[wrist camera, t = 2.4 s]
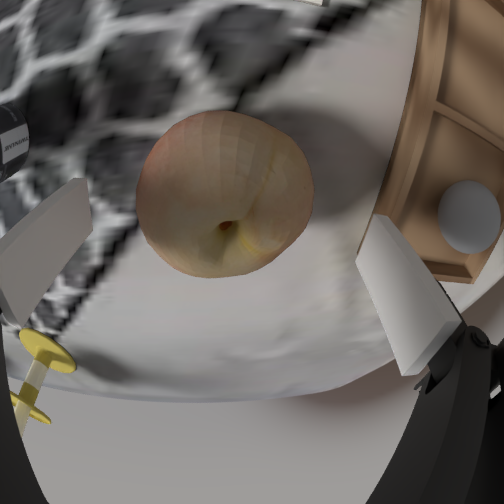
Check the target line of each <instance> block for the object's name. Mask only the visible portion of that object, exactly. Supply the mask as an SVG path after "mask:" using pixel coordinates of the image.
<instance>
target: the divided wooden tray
mask: <svg viewBox="0 0 504 504" xmlns="http://www.w3.org/2000/svg"><path fill="white" fill-rule="evenodd" d="M464 180H471V181H476V182H478V183H481V184H482V185H484V186H485V187H487V188H488V189H489V190H490V191H491V192H492V194H493V195H494V197H495V198H496V200H497V203H498V205H499V209H500V214H501V224H500V229H499V232H498V235H497V237H496V239H495V241H494V242H493V243H492V244H491V245H490V246H489V247H488V248H487V249H486V250H484V251H482V252H479V253H475V254H466V253H462V252H460V251H457V250H456V249H454V248H453V247H452V246H450V245H449V244H448V242H447V241H446V240H445V238H444V237H443V235H442V233H441V230H440V227H439V223H438V207H439V203H440V200H441V198H442V196H443V194H444V193H445V191H446V190H447V189H448V188H449V187H450V186H452V185H453V184H455V183H457V182H459V181H464ZM374 213H375V214H379V215H384V216H388V217H389V219H390V220H391V221H392V222H393V224H394V225H395V226H396V227H397V228H398V230H399V231H400V232H401V233H402V235H403V236H404V237H405V239H406V240H407V241H408V242H409V244H410V245H411V246H412V248H413V249H414V250H415V252H416V253H417V254H418V256H419V257H420V258H421V260H422V261H423V262H424V264H425V265H426V267H427V268H428V269H429V271H430V272H431V274H432V275H433V277H434V278H435V279H436V280H437V281H445V282H456V283H467V284H474V282H475V281H476V279H477V277H478V276H479V274H480V272H481V271H482V269H483V267H484V265H485V264H486V262H487V260H488V258H489V257H490V255H491V253H492V251H493V249H494V247H495V245H496V243H497V241H498V239H499V237H500V235H501V233H502V231H503V229H504V0H422V6H421V16H420V24H419V32H418V39H417V46H416V52H415V58H414V63H413V69H412V74H411V79H410V84H409V88H408V93H407V97H406V102H405V106H404V110H403V114H402V118H401V122H400V126H399V130H398V133H397V137H396V141H395V144H394V148H393V151H392V155H391V158H390V161H389V164H388V168H387V171H386V174H385V177H384V180H383V183H382V186H381V189H380V192H379V195H378V198H377V201H376V204H375V207H374V209H373V212H372V215H371V218H370V220H369V223H368V226H367V228H366V231H365V234H364V236H363V239H362V241H361V244H360V246H359V249H358V251H357V255H358V254H359V251H360V249H361V246H362V244H363V241H364V238H365V236H366V233H367V231H368V228H369V225H370V222H371V220H372V217H373V214H374Z"/></svg>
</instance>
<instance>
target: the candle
mask: <svg viewBox="0 0 504 504" xmlns="http://www.w3.org/2000/svg"><path fill="white" fill-rule="evenodd" d="M19 336H20V339H21V342H22V343H23V345H24V346H25V348H26V349H27V350H28V351H29V352H30V353H31V354H32V355H33V356H34V357H35V358H34V360H33V363H32V365H31V367H30V369H29V371H28V374H27V376H26V378H25V381H24V383H23V385H22V388H21V390H20V393H19V395H17V394H15V393H13V392H11V391H10V395H11V400H12V404H13V406H15V410H14V413H15V417H16V421H17V424H18V428H19V432H20V435H21V438H22V435H23V432H24V429H25V426H26V423H27V420H28V417H29V416H31V417H32V418H34V419H36V420H38V421H40V422H43V423H46V424H51V420H50V418H49V417H48V416H47V415H45V414H44V413H43V412H42V411H40V410H39V409H38V408H36V407H35V406H34V403H35V401H36V398H37V396H38V393H39V390H40V388H41V385H42V383H43V380H44V378H45V376H46V373H47V371H48V368H49V367H50V368H52V369H54V370H57V371H60V372H63V373H72V372H73V371H75V370H76V363H75V362H74V360H73V359H72V357H71V355H70V354H69V353H68V352H67V351H66V350H65V349H64V348H63V347H62V346H60V345H59V344H58V343H56V342H55V341H54V340H52V339H51V338H50V337H48V336H46V335H44V334H42V333H41V332H39V331H36V330H33V329H30V328H23V329H22V330H21V332H20V333H19Z"/></svg>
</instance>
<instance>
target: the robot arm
mask: <svg viewBox="0 0 504 504" xmlns="http://www.w3.org/2000/svg"><path fill="white" fill-rule="evenodd" d="M92 231H93V226H92V220H91V212H90V204H89V196H88V186H87V178H73V179H72V180H70V181H69V182H68V183H66V184H65V185H64V186H62V187H61V188H60V189H58V190H57V191H56V192H54V193H53V194H52V195H50V196H49V197H48V198H47V199H45V200H44V201H43V202H42V203H40V204H39V205H38V206H37V207H36V208H34V209H33V210H32V211H31V212H30V213H28V214H27V215H26V216H25V217H24V218H23V219H22V220H20V221H19V222H18V223H17V224H16V225H15V226H14V227H13V228H12V229H11V230H9V231H8V232H7V233H6V234H5V235H4V236H3V237H2V238H1V239H0V314H1V313H3V315H4V316H5V318H6V320H7V322H8V324H10V325H13V326H15V327H18V328H20V329H22V328H23V327H24V325H25V323H26V322H27V320H28V318H29V317H30V315H31V314H32V312H33V310H34V309H35V307H36V306H37V304H38V303H39V301H40V300H41V298H42V297H43V295H44V294H45V292H46V291H47V290H48V288H49V287H50V285H51V284H52V282H53V281H54V280H55V278H56V277H57V275H58V274H59V273H60V271H61V270H62V269H63V267H64V266H65V265H66V263H67V262H68V261H69V259H70V258H71V257H72V256H73V254H74V253H75V252H76V251H77V249H78V248H79V247H80V246H81V244H82V243H83V242H84V241H85V239H86V238H87V237H88V236H89V235H90V233H91V232H92ZM355 263H356V265H357V268H358V270H359V272H360V274H361V276H362V278H363V281H364V283H365V285H366V287H367V289H368V292H369V294H370V296H371V298H372V301H373V303H374V305H375V308H376V310H377V312H378V315H379V317H380V320H381V322H382V325H383V327H384V330H385V332H386V335H387V337H388V340H389V342H390V345H391V347H392V350H393V353H394V355H395V358H396V361H397V364H398V366H399V369H400V372H401V375H402V376H406V375H415V374H418V373H419V372H420V371H421V370H422V369H423V368H424V366H426V365H427V364H428V366H429V369H430V371H429V372H428V373H427V374H426V376H425V377H424V378H423V379H422V380H421V381H420V382H419V383H418V384H417V385H416V386H415V387H414V390H417V389H418V388H419V387H420V386H422V387H421V390H420V391H419V396H418V399H417V401H416V404H415V407H414V409H413V412H412V415H411V417H410V419H409V422H408V424H407V426H406V429H405V431H404V433H403V436H402V438H401V440H400V442H399V444H398V446H397V448H396V450H395V453H394V455H393V457H392V459H391V460H390V462H389V464H388V466H387V468H386V470H385V472H384V474H383V475H382V477H381V479H380V481H379V482H378V484H377V486H376V487H375V489H374V491H373V492H372V494H371V496H370V497H369V499H368V501H367V502H366V504H504V338H503V339H502V341H501V342H500V343H499V344H498V346H496V345H493V344H491V343H490V341H489V339H488V337H487V336H486V334H485V333H484V332H483V331H482V330H481V329H479V328H477V327H475V326H467V325H466V323H465V321H464V320H463V318H462V316H461V315H460V313H459V311H458V310H457V308H456V306H455V305H454V303H453V302H451V299H450V297H449V296H448V294H446V291H445V290H444V288H443V287H442V285H441V284H440V283H439V282H438V281H437V280H436V279H435V278H434V277H433V275H432V274H431V272H430V271H429V269H428V268H427V267H426V265H425V264H424V262H423V261H422V260H421V258H420V257H419V256H418V254H417V253H416V252H415V250H414V249H413V248H412V246H411V245H410V244H409V242H408V241H407V240H406V239H405V237H404V236H403V235H402V233H401V232H400V231H399V230H398V228H397V227H396V226H395V225H394V224H393V222H392V221H391V220H390V219H389V217H388V216H384V215H379V214H375V213H374V214H373V217H372V220H371V222H370V225H369V228H368V231H367V233H366V236H365V238H364V241H363V244H362V246H361V249H360V251H359V254H358V256H357V259H356V261H355ZM498 385H500V386H501V391H500V392H499V393H498V394H497V395H496V396H495V397H494V398H492V399H491V397H490V393H491V392H492V391H493V390H494V389H495V388H497V387H498ZM0 504H49V503H48V502H47V500H46V498H45V497H44V495H43V493H42V490H41V488H40V486H39V484H38V482H37V479H36V477H35V474H34V472H33V470H32V467H31V464H30V462H29V459H28V456H27V454H26V450H25V448H24V444H23V441H22V438H21V435H20V432H19V428H18V424H17V421H16V417H15V413H14V409H13V404H12V400H11V395H10V390H9V385H8V379H7V372H6V366H5V358H4V348H3V337H2V325H1V322H0Z"/></svg>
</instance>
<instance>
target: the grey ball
mask: <svg viewBox="0 0 504 504" xmlns="http://www.w3.org/2000/svg"><path fill="white" fill-rule="evenodd" d="M438 223H439V227H440V230H441V233H442V235H443V237H444V238H445V240H446V241H447V242H448V244H449V245H450V246H452V247H453V248H454V249H456V250H457V251H460V252H462V253H466V254H475V253H479V252H482V251H484V250H486V249H487V248H488V247H489V246H490V245H491V244H492V243H493V242H494V241H495V239H496V237H497V235H498V232H499V229H500V224H501V214H500V209H499V205H498V203H497V200H496V198H495V197H494V195H493V194H492V192H491V191H490V190H489V189H488V188H487V187H485V186H484V185H482V184H481V183H478V182H476V181H471V180H464V181H459V182H457V183H455V184H453V185H452V186H450V187H449V188H448V189H447V190H446V191H445V193H444V194H443V196H442V198H441V200H440V203H439V207H438Z"/></svg>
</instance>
